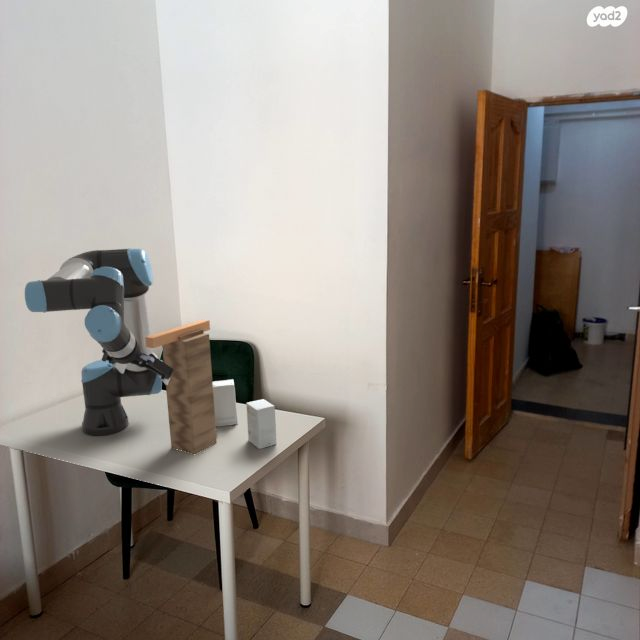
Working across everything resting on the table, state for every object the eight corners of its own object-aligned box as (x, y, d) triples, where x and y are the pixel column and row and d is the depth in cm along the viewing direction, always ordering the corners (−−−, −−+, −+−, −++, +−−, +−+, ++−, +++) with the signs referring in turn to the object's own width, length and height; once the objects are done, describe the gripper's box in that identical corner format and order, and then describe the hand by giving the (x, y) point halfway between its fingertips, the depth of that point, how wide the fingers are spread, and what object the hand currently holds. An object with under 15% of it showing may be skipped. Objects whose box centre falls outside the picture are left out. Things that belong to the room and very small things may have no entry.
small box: (277, 444, 189) (275, 405, 186) (259, 449, 186) (256, 410, 183) (265, 435, 196) (263, 398, 193) (247, 440, 193) (245, 402, 190)
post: (171, 448, 188) (161, 334, 180) (193, 436, 197) (184, 327, 188) (195, 454, 183) (185, 337, 175) (216, 442, 192) (208, 330, 183)
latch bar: (146, 347, 171) (145, 336, 170) (202, 328, 191) (202, 319, 190) (153, 348, 169) (152, 338, 168) (210, 329, 189) (209, 320, 188)
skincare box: (237, 418, 211) (234, 378, 207) (237, 425, 205) (235, 384, 202) (213, 420, 210) (210, 380, 206) (213, 427, 204) (210, 386, 200)
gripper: (69, 347, 150) (100, 376, 170) (161, 370, 147) (182, 397, 166) (82, 321, 153) (110, 352, 173) (172, 343, 150) (191, 373, 169)
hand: (145, 374), depth 169 cm, fingers open, 13 cm apart
